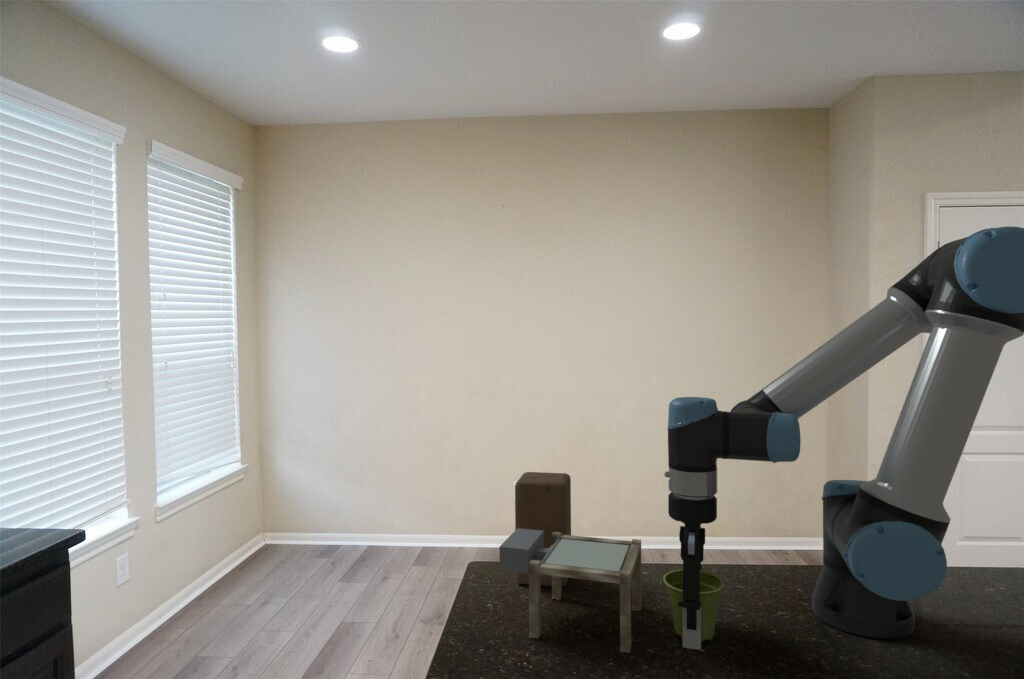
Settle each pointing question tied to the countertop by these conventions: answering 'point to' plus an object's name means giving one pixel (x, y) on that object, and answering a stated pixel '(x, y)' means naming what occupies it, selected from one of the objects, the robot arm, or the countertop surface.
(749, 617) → the countertop surface
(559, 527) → the wooden block
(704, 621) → the plant pot
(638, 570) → the frame
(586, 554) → the trapdoor
